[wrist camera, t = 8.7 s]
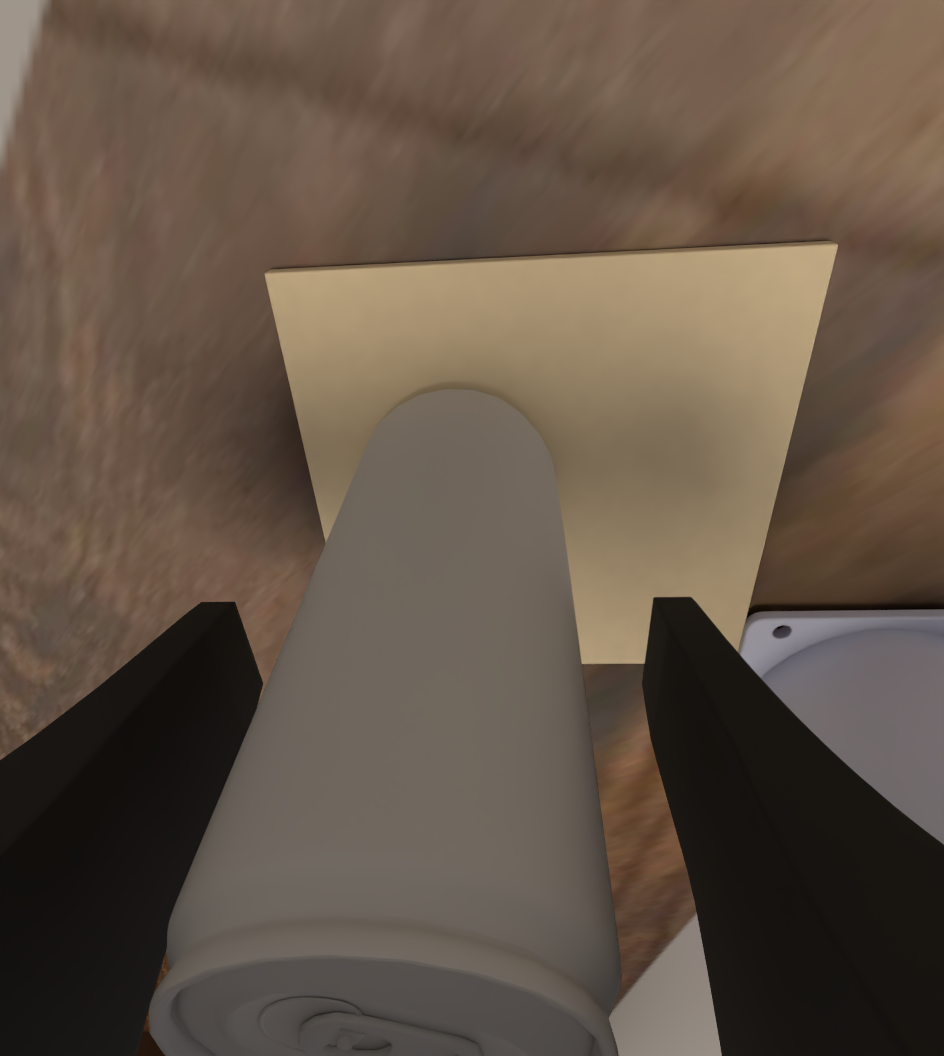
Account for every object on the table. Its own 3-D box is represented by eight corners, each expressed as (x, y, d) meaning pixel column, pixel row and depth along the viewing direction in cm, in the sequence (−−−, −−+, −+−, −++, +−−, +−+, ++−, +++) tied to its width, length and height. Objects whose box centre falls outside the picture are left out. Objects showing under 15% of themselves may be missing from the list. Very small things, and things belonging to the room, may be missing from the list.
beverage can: (405, 345, 14) (173, 888, 4) (591, 428, 15) (744, 1032, 5) (342, 507, 17) (106, 1083, 7) (505, 570, 18) (500, 1157, 8)
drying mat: (831, 240, 13) (839, 244, 13) (731, 654, 20) (735, 663, 19) (269, 269, 14) (263, 273, 14) (355, 656, 21) (353, 665, 20)
